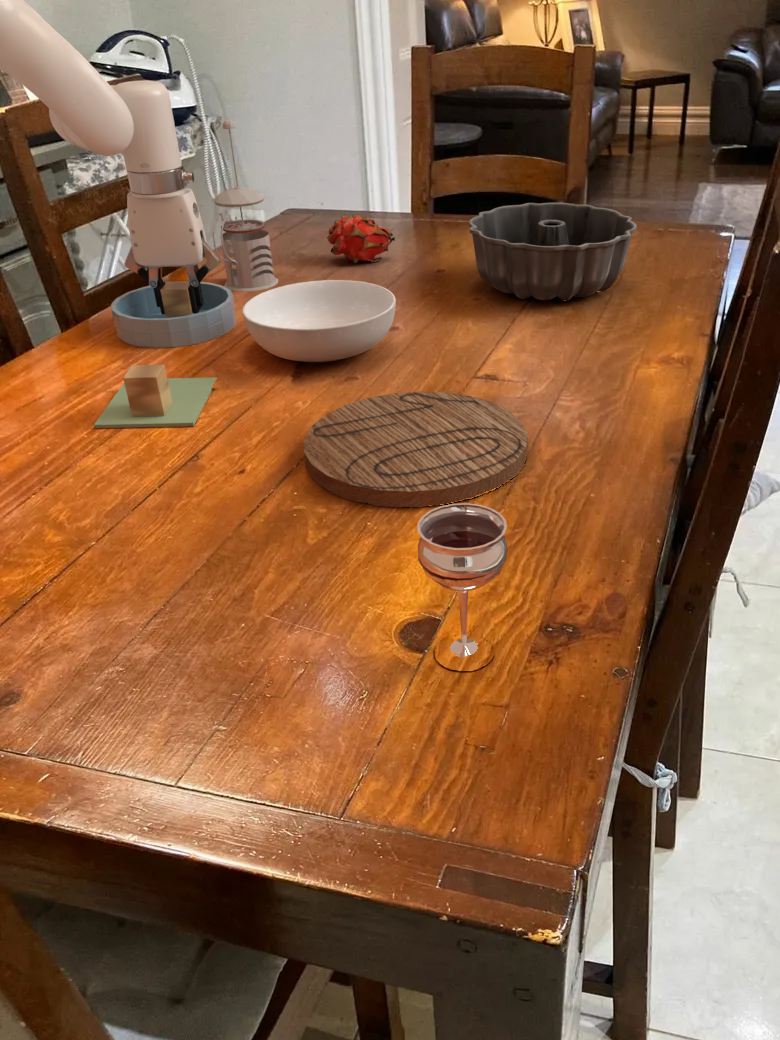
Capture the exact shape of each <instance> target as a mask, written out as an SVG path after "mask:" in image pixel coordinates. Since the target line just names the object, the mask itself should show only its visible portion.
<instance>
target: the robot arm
mask: <svg viewBox="0 0 780 1040" xmlns="http://www.w3.org/2000/svg"><path fill="white" fill-rule="evenodd" d="M0 71H2V72H3V73H5V74H7V75H8V76H10V77H11V78H13V79H14V80H16V81H17V82H18V83H20V84H21V85H22V86H23V87H25V88H26V89H27V90H28V91H30V92H31V94H33V95H34V96H35V97H36V98H37V99H39V100H40V101H41V102H42V103H43V104H44V105H45V106H47V108H48V115H49V119H50V122H51V125H52V127H53V128H54V130H55V132H56V133H57V134H58V135H59V136H60V138H62V139H63V140H64V141H66V142H67V143H69V144H71V145H73V146H75V147H78V148H80V149H82V150H85V151H89V152H91V153H93V154H96V155H98V156H103V157H111V156H115V155H119V154H121V153H122V157H123V160H124V165H125V170H126V175H127V178H128V184H129V189H130V190H129V192H128V193H127V195H126V208H127V209H126V211H127V223H128V232H129V238H130V244H131V245H130V248H129V251H128V254H127V256H126V259H125V261H124V263H123V265H124V267H125V268H126V269H128V270H129V271H132V272H133V273H135V274H137V275H138V276H139V277H140V278H142V279H143V280H144V281H146V283H148V286H151V287H152V288H153V290H154V294H155V299H156V304H157V307H160V309H161V314H165V310H164V305H163V301H162V296H161V291H160V290H161V289H162V288H163V286H164V285H165V284H166V283H167V282H166V281H164V279H163V270H162V269H163V268H166V267H168V268H172V267H174V268H175V267H184V270H185V273H186V276H187V278H188V281H190V282H189V284H190V286H189V287H188V291H189V297H190V302H191V308H192V312H193V313H194V314H196V313H198V312H199V311H200V309H201V306H203V304H204V301H203V295H202V289H201V284H200V282H203V280H204V279H205V277H206V276H207V275H208V274H209V273H210V272H211V271H213V270H214V269H216V267H218V266H219V264H220V263H221V258H220V257H219V256H218V254H217V253H216V251H214V250H213V249H212V248H211V246H210V245H209V244H208V241H207V237H206V232H205V227H204V224H203V223H204V222H203V220H202V216H201V213H200V209H199V205H198V203H197V199H196V196H195V194H194V191H193V189H192V188H190V187H189V188H188V187H186V186H187V184H190V183H195V175H194V172H193V171H187V170H185V168H184V165H182V159H181V153H180V149H179V142H178V138H177V137H178V135H177V131H176V126H175V125H176V124H175V119H174V114H173V109H172V108H173V107H172V103H171V98H170V97H171V96H170V93H169V91H168V88H167V87H166V85H165V84H164V83H162V82H160V81H156V80H143V79H142V80H131V81H124V82H119V83H117V84H111V85H110V84H109V82H107V80H106V79H105V78H104V77H103V75H101V74H100V73H99V71H98V70H97V69H96V68H95V67H94V66H93V65H92V64H91V63H90V62H89V61H88V60H87V59H86V57H84V56H83V55H82V54H81V53H80V52H79V51H78V50H77V49H76V48H75V47H74V46H73V45H72V44H71V43H70V42H69V41H68V40H67V39H65V37H63V36H62V35H61V34H60V33H59V31H57V30H55V28H54V27H52V26H51V25H50V23H48V22H47V21H46V19H44V17H42V16H41V15H40V14H39V13H38V12H37V11H36V10H35V9H34V8H33V7H32V6H31V5H29V4H28V3H27V2H26V1H25V0H0ZM203 258H205V259H206V262H205V263H203ZM201 263H203V264H202V265H201V266H199V265H200V264H201Z"/></svg>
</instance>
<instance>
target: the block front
mask: <svg viewBox="0 0 780 1040" xmlns="http://www.w3.org/2000/svg"><path fill="white" fill-rule="evenodd" d="M168 378H169V377H168V374H167V370H166V365H165V364H133V365H131V366H130V367H129V369H128V370H127V372H126V373H125V374H124V375H123V377H122V380H123V384H125V388H126V392H127V397H128V401H129V405H130V409H131V413H132V417H140V416H165V415H166V413H167V411H168V409H169V408H170V406H171V404H172V403H173V402H172V397H171V393H170V388H169V383H168Z"/></svg>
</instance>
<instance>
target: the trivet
mask: <svg viewBox="0 0 780 1040" xmlns="http://www.w3.org/2000/svg"><path fill="white" fill-rule="evenodd" d="M527 449H528V450H529V433H528V431H527V429H526V426H525V425H524V422H523V421H522V420H521V419H520V418H519V417H518V416H517V415H515V414H514V413H513V412H512V411H511V410H509V409H507V408H504V407H502V406H501V405H498V404H497V403H494V402H492V401H489V400H485V399H482V398H479V397H475V396H472V395H465V394H459V393H452V392H445V391H444V392H443V391H442V392H441V391H440V392H439V391H409V392H395V393H389V394H383V395H378V396H372V397H367V398H364V399H361V400H358V401H357V400H356V401H353V402H350V403H348V404H345V405H342V406H340V407H339V408H336V409H334V410H332V411H330V412H328V413H326V414H324V415H323V416H322V417H321V418H319V420H317V421H316V422H315V423H313V424H312V425H311V426H310V428H309V430H308V431H307V433H306V435H305V436H304V437H303V456H304V464H305V468H306V470H307V472H308V474H309V475H310V477H311V479H312V480H313V481H314V482H315V483H317V484H318V485H319V486H321V487H322V488H323V487H324V488H323V489H325V490H326V489H327V490H326V491H327V492H329V493H331V494H333V495H336V496H338V497H341V498H344V499H346V498H347V500H349V501H352V502H357V503H361V502H362V503H361V504H366V503H368V504H367V505H371V504H372V505H371V506H376V507H383V508H385V506H386V508H402V507H410V508H409V509H413V508H412V507H418V508H421V507H420V506H429V505H440V504H447V503H451V502H455V501H459V500H463V499H466V498H471V497H475V496H476V495H479V494H482V493H484V492H486V491H489V490H492V489H494V488H497V487H499V486H500V485H502V484H503V483H505V482H506V481H507V480H509V479H510V478H512V477H513V476H515V475H516V474H517V472H518V471H519V469H520V468H521V467H522V465H523V464H524V463H525V461H526V462H527V457H526V455H527V456H528V451H527ZM525 464H526V463H525ZM519 472H520V471H519ZM517 475H518V474H517ZM517 475H516V476H517ZM389 506H390V507H389Z"/></svg>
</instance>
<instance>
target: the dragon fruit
mask: <svg viewBox="0 0 780 1040" xmlns="http://www.w3.org/2000/svg"><path fill="white" fill-rule="evenodd" d="M326 239H327V241H328V242H329V244H331V245H332V247H331V248H330V253H332V254H333V255H334V256H340V255H344V256H345V257H344V258H345V261H346V262H353V264H357V263H358V262H359V261H363V262H370V263H377V262H379V261H381V260H383V257H381V256H380V257H376V256H377V255H381V254H383V253H385V252H389V246H390V244H392V242H395V240H396V238H395V236H394V234H393V233H392V232H391V230H390V229H388V228H385V227H381V226H379V225H378V224H376V221H375V220H374V219H371V218H370V216H369V215H365V216H364V217H363V218H362V216H361V215H360V214H355V216H353V214H351V215H348V216H345V215H342V216H340V219H337V220H334V222H333V225H332V226H331V227H330V228H328V235H327V237H326ZM375 257H376V258H375Z"/></svg>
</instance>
